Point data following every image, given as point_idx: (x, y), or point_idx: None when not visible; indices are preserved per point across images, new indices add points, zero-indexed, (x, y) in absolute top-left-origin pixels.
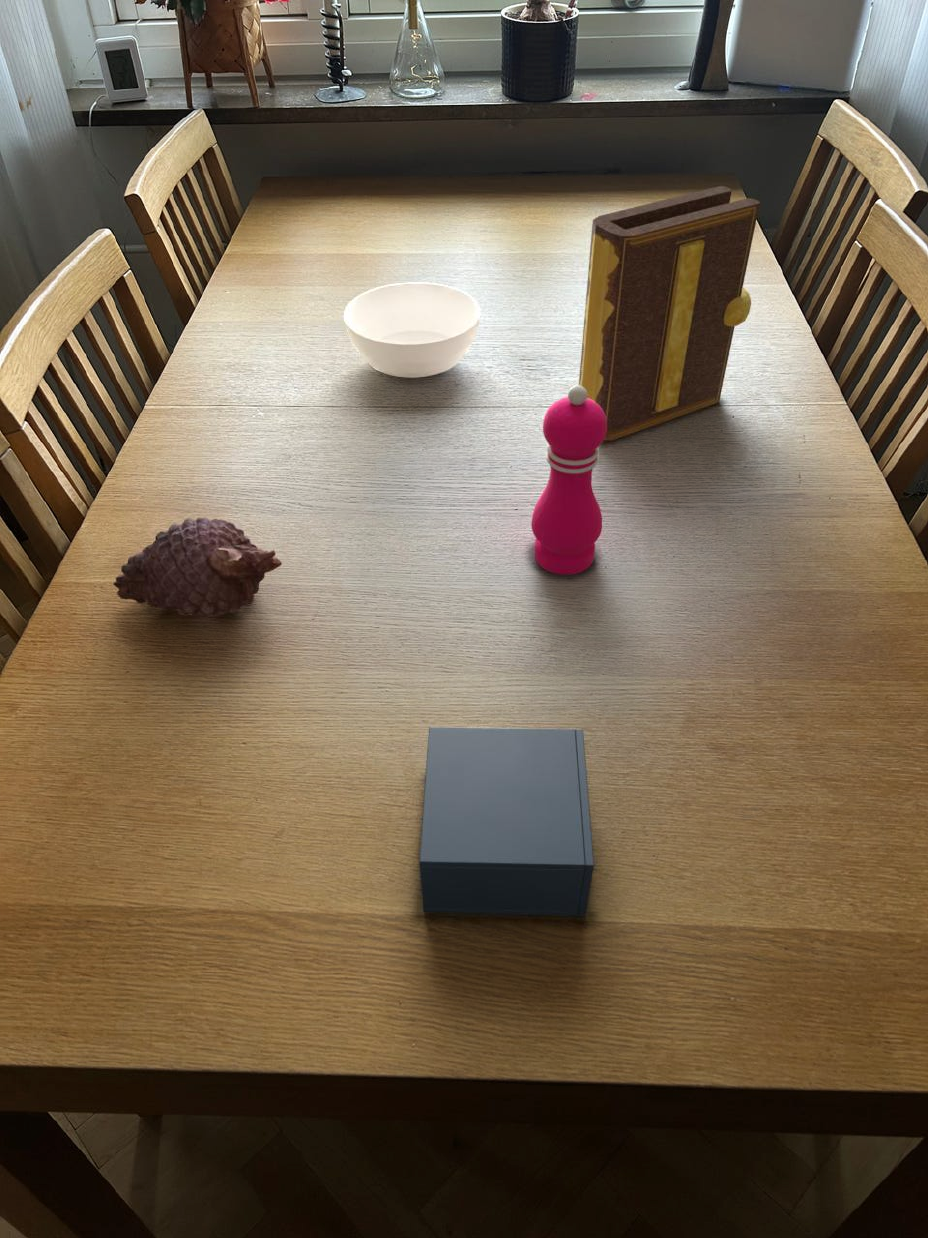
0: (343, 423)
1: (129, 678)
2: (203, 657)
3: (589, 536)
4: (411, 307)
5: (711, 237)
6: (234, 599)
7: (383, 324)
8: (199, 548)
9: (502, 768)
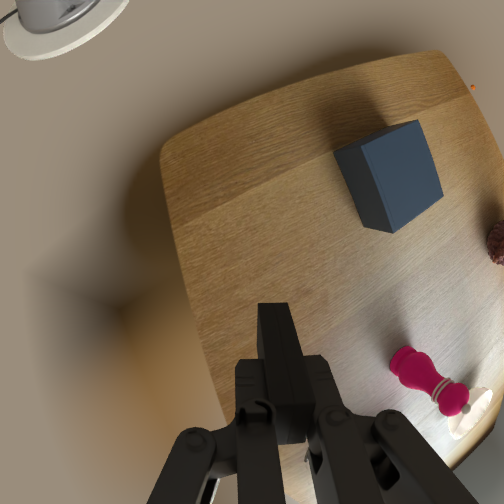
0: (477, 357)
1: (494, 189)
2: (486, 211)
3: (406, 368)
4: (467, 420)
5: None
6: (495, 235)
7: (472, 407)
8: None
9: (414, 186)
